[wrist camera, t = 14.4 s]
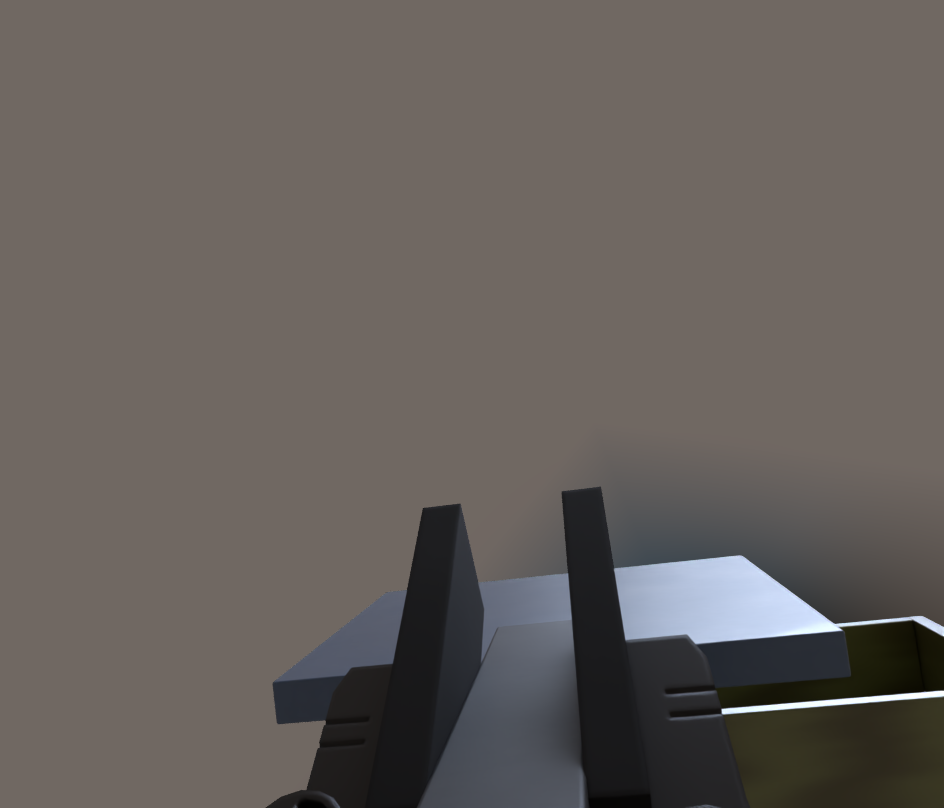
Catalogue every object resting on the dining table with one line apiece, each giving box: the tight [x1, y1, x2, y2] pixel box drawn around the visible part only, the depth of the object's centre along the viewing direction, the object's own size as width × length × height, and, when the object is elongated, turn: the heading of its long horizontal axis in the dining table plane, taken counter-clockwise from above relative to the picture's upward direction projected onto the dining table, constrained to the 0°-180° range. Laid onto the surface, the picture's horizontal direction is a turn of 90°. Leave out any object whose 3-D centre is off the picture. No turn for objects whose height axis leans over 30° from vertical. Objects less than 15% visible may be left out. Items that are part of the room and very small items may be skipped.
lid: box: [273, 555, 851, 808], centre depth 18 cm, size 13×21×2 cm, turn 172°
